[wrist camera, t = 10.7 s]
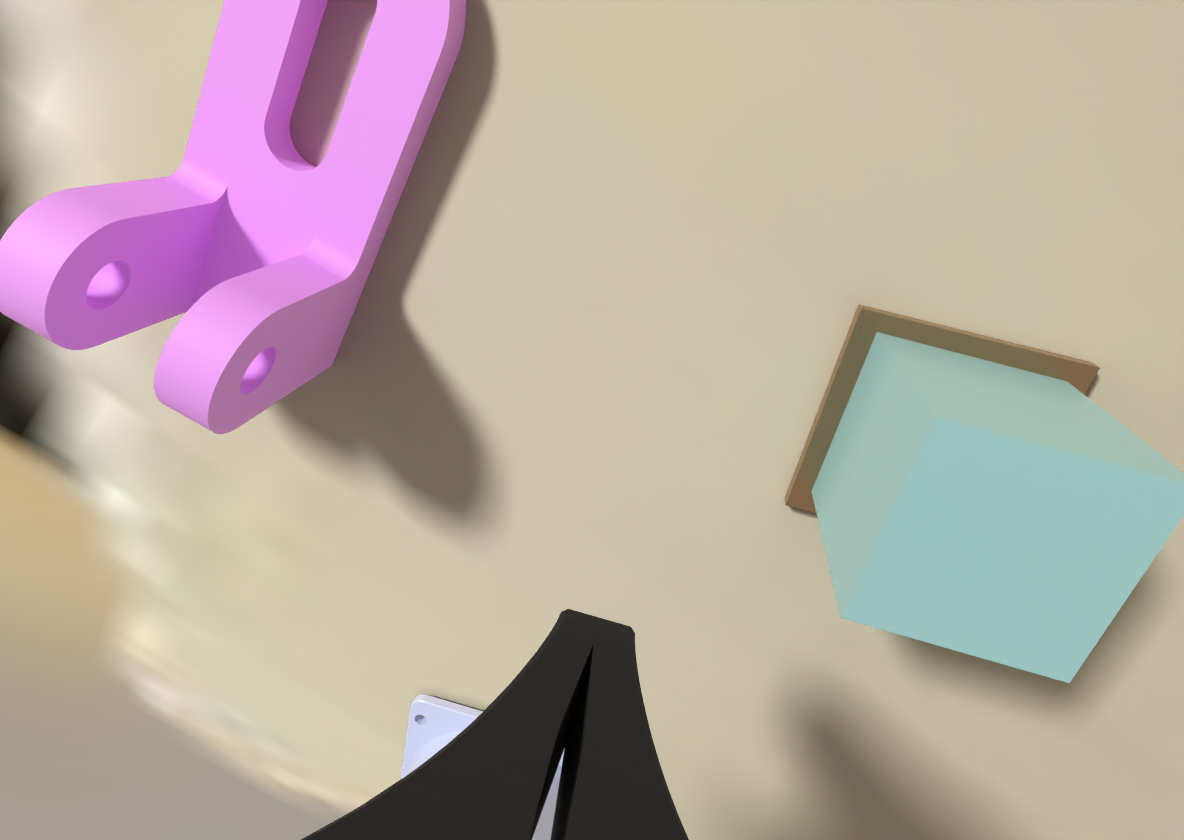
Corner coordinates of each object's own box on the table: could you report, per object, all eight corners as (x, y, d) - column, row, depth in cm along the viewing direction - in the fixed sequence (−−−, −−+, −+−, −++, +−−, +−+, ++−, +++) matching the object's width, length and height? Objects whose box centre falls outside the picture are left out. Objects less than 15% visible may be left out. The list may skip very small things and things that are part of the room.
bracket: (334, 364, 23) (191, 457, 17) (181, 276, 23) (-21, 339, 17) (502, -52, 18) (385, -138, 12) (306, -174, 18) (76, -331, 11)
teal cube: (981, 538, 21) (1069, 683, 16) (811, 491, 22) (840, 617, 16) (1067, 381, 19) (1202, 487, 14) (876, 331, 20) (936, 416, 14)
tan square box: (988, 553, 22) (1047, 651, 18) (784, 498, 22) (798, 582, 18) (1092, 363, 19) (1188, 428, 15) (858, 304, 20) (892, 353, 16)
